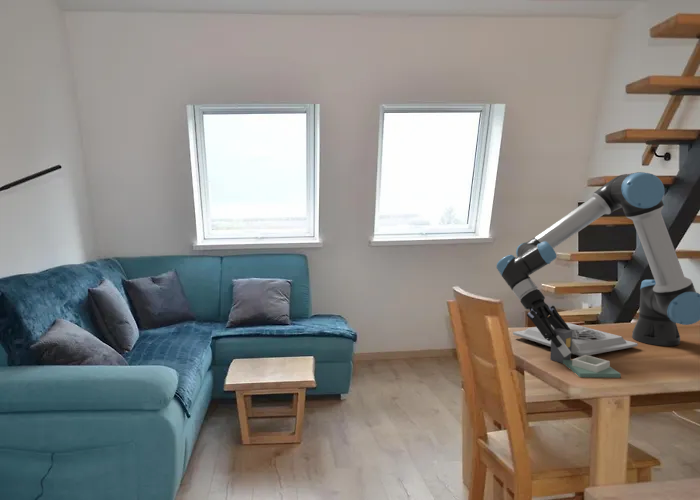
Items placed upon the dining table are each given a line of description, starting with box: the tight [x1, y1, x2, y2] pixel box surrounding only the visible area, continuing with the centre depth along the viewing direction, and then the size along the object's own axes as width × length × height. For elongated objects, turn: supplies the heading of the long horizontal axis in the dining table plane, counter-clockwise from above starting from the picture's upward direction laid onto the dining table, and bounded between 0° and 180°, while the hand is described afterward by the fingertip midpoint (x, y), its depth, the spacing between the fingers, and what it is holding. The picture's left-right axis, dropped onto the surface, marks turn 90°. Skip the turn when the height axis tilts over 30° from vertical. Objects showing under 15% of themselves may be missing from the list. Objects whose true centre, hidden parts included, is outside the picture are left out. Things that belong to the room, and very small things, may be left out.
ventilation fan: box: [512, 322, 638, 357], centre depth 175 cm, size 30×6×30 cm
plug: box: [549, 328, 572, 364], centre depth 157 cm, size 4×5×10 cm
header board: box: [562, 355, 622, 379], centre depth 148 cm, size 12×12×3 cm
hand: (572, 353), depth 154 cm, fingers closed on plug, 4 cm apart
